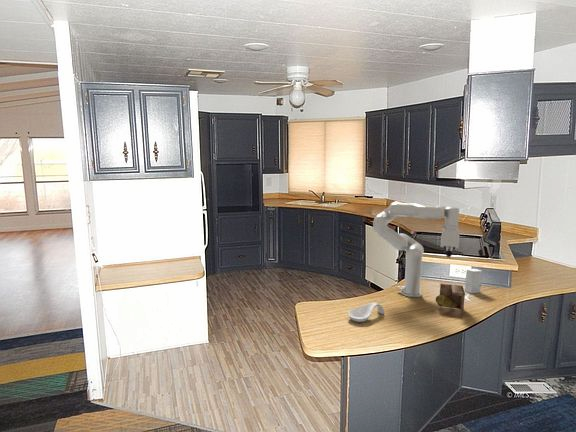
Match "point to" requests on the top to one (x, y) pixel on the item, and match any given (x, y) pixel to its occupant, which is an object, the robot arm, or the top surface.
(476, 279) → the skincare box
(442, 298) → the potato
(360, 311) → the spoon rest
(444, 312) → the cubby
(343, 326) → the top surface
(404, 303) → the top surface
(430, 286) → the top surface
